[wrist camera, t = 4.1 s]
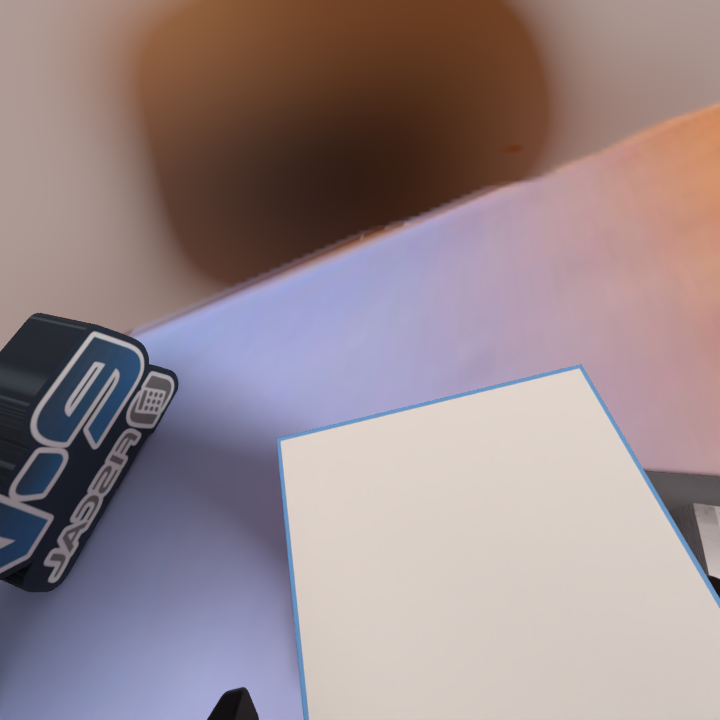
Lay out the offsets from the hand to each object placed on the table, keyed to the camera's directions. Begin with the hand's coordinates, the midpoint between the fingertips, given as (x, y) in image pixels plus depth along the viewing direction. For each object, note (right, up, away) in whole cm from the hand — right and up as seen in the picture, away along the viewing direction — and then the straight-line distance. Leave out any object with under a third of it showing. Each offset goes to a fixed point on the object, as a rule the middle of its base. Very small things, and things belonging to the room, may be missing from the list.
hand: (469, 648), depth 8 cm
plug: (+1, -4, +8) cm, 9 cm away
